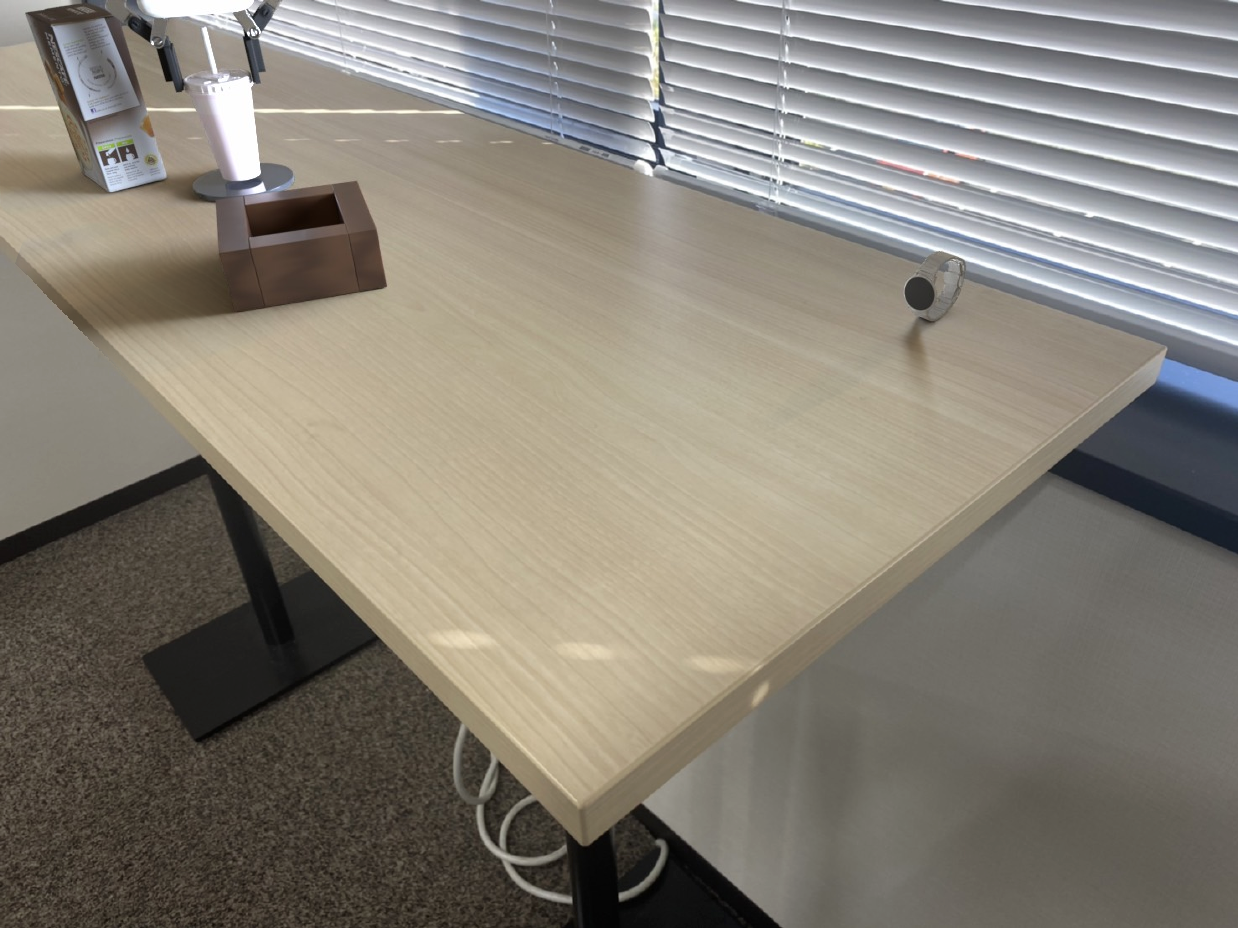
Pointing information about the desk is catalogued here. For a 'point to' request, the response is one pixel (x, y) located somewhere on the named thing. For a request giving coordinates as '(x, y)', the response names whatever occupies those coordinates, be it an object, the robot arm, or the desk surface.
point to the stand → (298, 245)
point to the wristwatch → (924, 291)
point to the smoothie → (226, 116)
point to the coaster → (243, 183)
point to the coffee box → (98, 94)
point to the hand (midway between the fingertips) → (218, 82)
